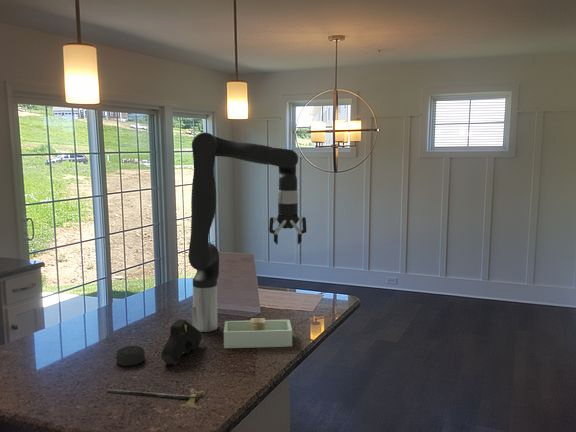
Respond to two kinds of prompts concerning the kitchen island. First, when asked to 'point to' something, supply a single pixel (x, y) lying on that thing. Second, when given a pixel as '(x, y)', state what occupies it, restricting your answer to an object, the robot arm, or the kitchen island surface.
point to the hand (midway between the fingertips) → (287, 243)
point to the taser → (180, 341)
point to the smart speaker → (130, 355)
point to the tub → (257, 334)
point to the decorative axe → (165, 395)
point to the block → (257, 324)
